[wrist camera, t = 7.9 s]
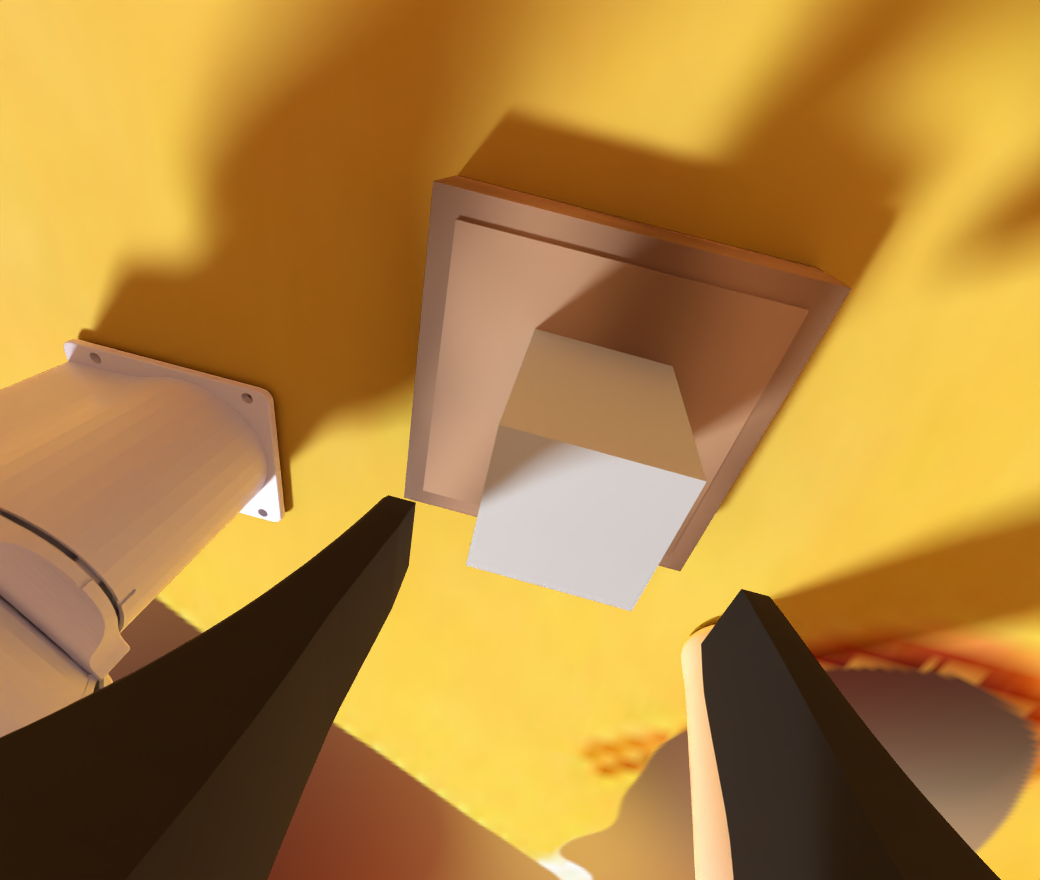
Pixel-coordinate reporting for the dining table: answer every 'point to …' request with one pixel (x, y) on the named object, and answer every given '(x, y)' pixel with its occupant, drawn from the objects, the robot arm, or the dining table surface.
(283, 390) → the dining table surface
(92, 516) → the robot arm
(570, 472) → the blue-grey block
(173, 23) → the dining table surface
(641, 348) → the walnut plinth
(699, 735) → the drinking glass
